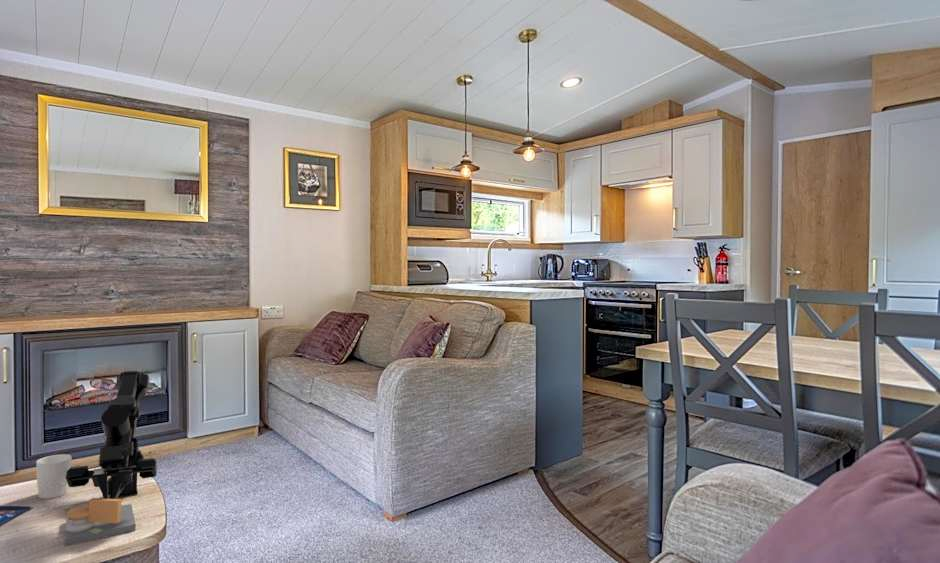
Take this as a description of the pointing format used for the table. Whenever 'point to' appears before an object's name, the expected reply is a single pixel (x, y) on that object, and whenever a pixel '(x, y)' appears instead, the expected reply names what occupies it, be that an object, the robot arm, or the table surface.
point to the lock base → (98, 527)
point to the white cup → (53, 475)
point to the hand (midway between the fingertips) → (108, 505)
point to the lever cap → (98, 511)
